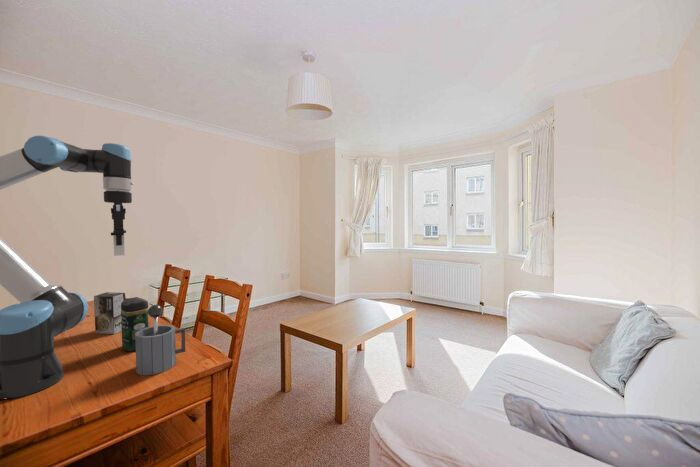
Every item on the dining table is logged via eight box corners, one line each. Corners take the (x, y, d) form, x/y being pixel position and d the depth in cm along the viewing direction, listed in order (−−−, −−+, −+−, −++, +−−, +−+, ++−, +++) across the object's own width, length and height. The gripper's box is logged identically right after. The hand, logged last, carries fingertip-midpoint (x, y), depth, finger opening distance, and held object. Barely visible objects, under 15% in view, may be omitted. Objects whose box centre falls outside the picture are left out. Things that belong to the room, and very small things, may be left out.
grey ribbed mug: (136, 378, 91) (135, 340, 90) (135, 364, 99) (134, 329, 99) (187, 365, 99) (187, 330, 99) (182, 353, 108) (182, 321, 107)
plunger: (142, 365, 93) (140, 310, 92) (140, 355, 99) (139, 304, 98) (171, 358, 97) (170, 305, 97) (168, 349, 104) (167, 300, 103)
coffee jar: (119, 346, 113) (117, 298, 112) (143, 340, 119) (142, 294, 118) (127, 354, 107) (125, 303, 106) (152, 347, 113) (151, 298, 112)
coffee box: (127, 328, 131) (126, 292, 130) (114, 334, 124) (113, 296, 123) (108, 327, 132) (107, 291, 131) (94, 333, 125) (93, 295, 124)
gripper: (132, 189, 93) (134, 256, 95) (130, 193, 113) (132, 249, 114) (101, 187, 89) (103, 258, 90) (105, 192, 109) (107, 250, 110)
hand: (119, 253), depth 102 cm, fingers open, 13 cm apart
